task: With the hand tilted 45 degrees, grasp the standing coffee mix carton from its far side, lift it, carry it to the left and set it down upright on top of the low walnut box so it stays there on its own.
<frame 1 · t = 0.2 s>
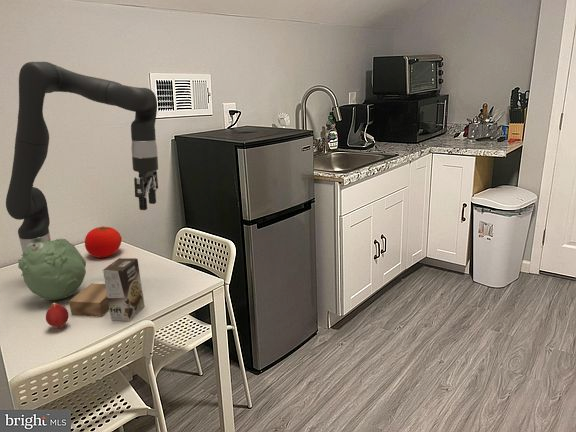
hand: (148, 206, 147), 28 cm above the table, tool pointing down, fingers open, 8 cm apart
tomato: (105, 255, 186), on the table
walnut box: (98, 307, 145), on the table
cabbage: (60, 298, 152), on the table
onion: (59, 328, 134), on the table
coffee box: (128, 313, 140), on the table
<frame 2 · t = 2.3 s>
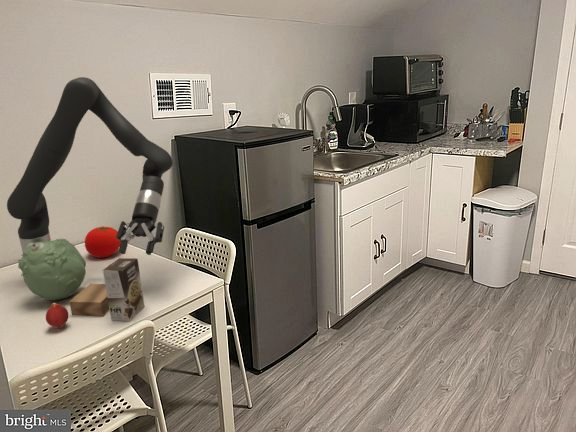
hand: (135, 253, 143), 16 cm above the table, tool tilted 45°, fingers open, 8 cm apart
nothing on the table moved.
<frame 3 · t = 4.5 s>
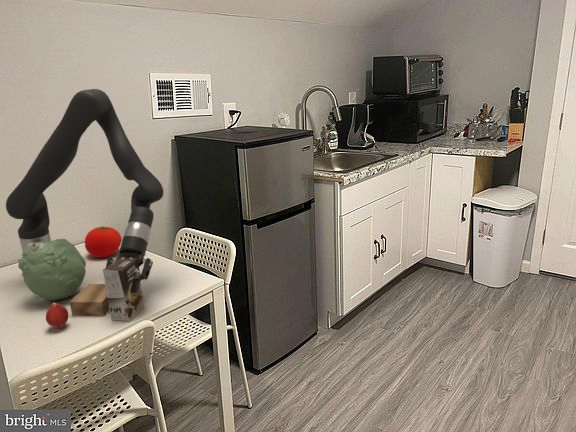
hand: (121, 291, 136), 8 cm above the table, tool tilted 45°, fingers closed on coffee box, 6 cm apart
coffee box: (128, 313, 140), on the table, touching gripper
everything else where it was.
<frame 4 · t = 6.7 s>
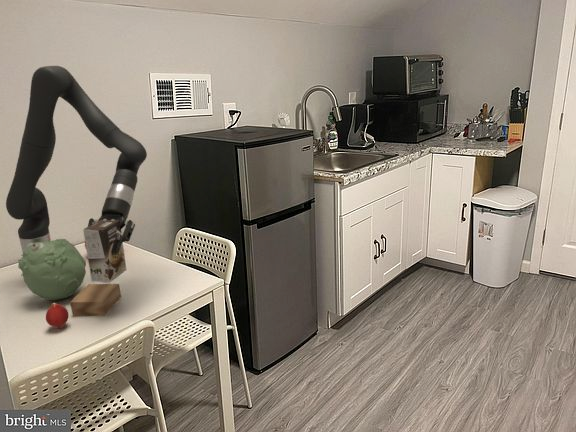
hand: (102, 253, 134), 20 cm above the table, tool tilted 45°, fingers closed on coffee box, 6 cm apart
coffee box: (109, 276, 138), point 11 cm above the table, touching gripper
everything else where it was.
when the fingers open (14 cm above the table, at t = 8.9 s): coffee box drops 2 cm, resting on walnut box.
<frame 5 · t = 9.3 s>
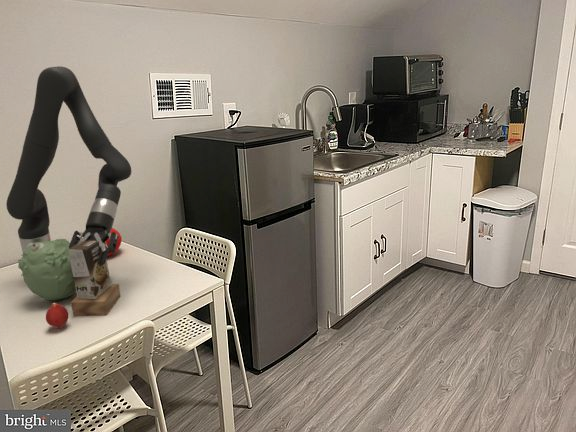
hand: (87, 264, 139), 15 cm above the table, tool tilted 45°, fingers open, 8 cm apart
walnut box: (98, 307, 145), on the table, touching coffee box
coffee box: (95, 292, 144), point 4 cm above the table, touching walnut box
everything else where it was.
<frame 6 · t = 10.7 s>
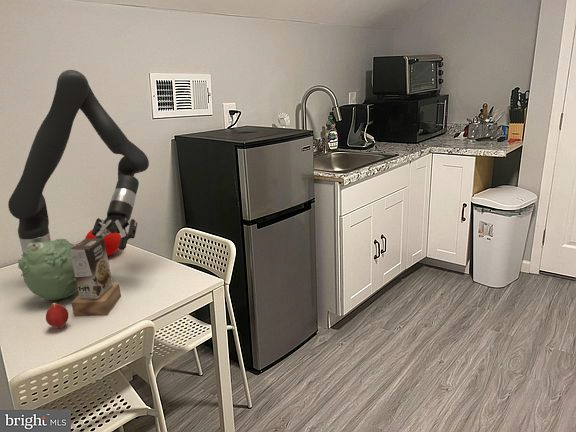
hand: (108, 249, 150), 15 cm above the table, tool tilted 45°, fingers open, 8 cm apart
nothing on the table moved.
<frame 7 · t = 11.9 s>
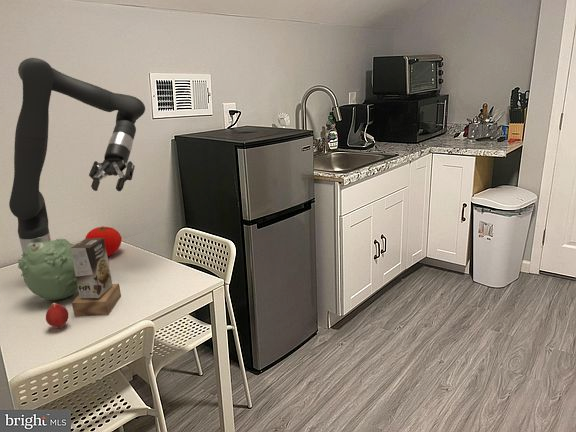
hand: (106, 190, 152), 33 cm above the table, tool tilted 45°, fingers open, 8 cm apart
walnut box: (99, 307, 145), on the table
coffee box: (97, 292, 144), point 5 cm above the table
everything else where it was.
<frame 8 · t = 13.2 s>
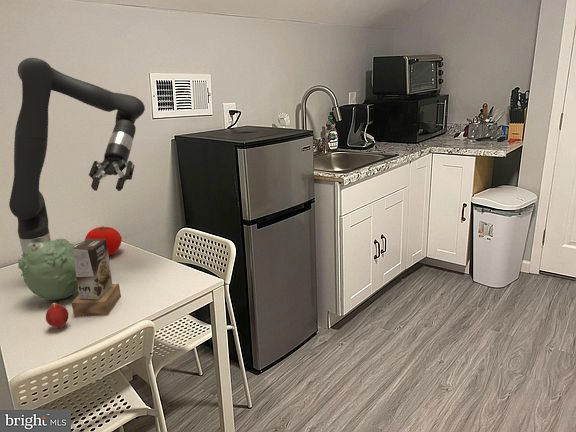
hand: (106, 189, 152), 33 cm above the table, tool tilted 45°, fingers open, 8 cm apart
at the end: coffee box inside the target area on the walnut box (0.4 cm from its centre), point 5.2 cm above the walnut box's base; coffee box tilted 6°; the gripper is holding nothing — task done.
